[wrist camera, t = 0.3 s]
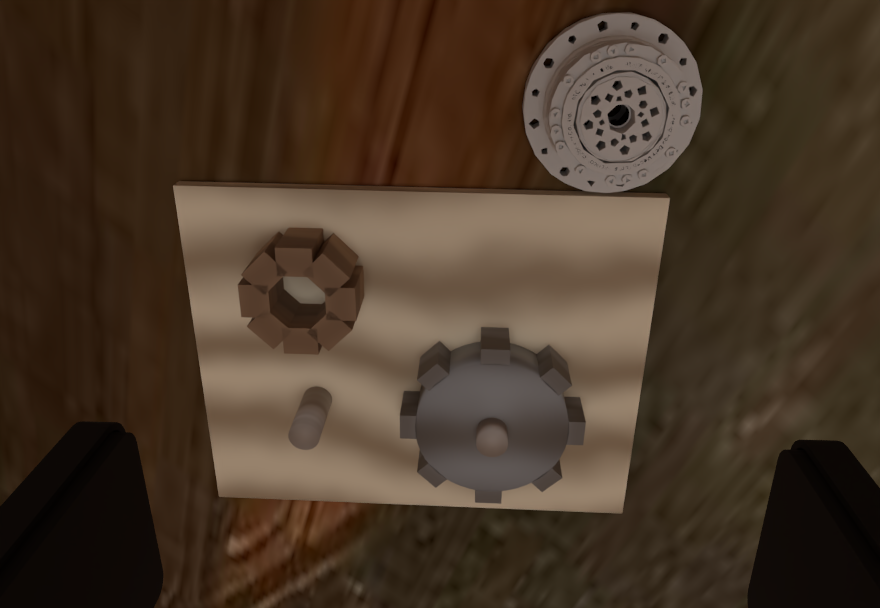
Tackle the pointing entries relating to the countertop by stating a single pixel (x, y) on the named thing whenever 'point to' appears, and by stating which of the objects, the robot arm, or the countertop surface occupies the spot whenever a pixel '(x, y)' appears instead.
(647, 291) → the gear board
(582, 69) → the mechanical component
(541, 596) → the countertop surface
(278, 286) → the walnut gear
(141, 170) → the countertop surface
